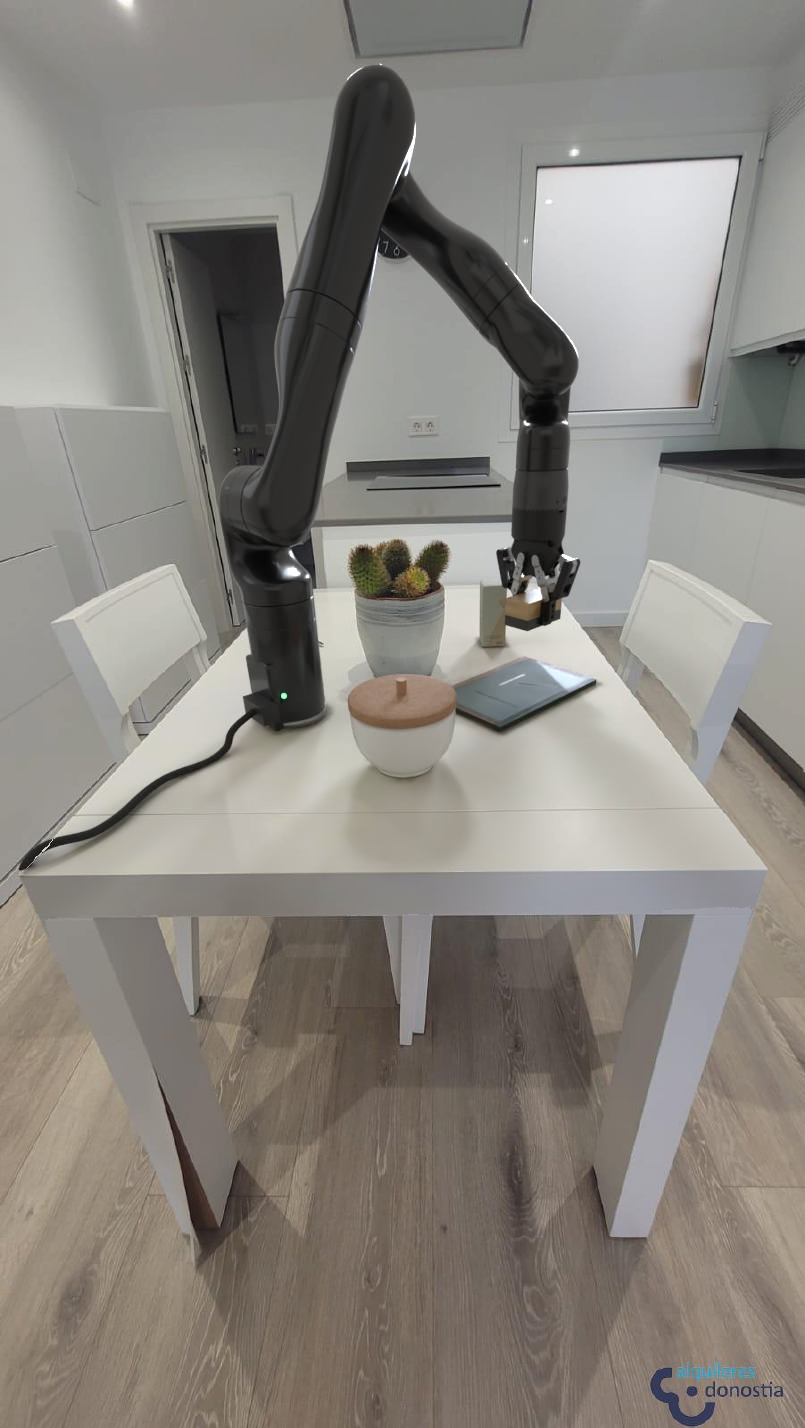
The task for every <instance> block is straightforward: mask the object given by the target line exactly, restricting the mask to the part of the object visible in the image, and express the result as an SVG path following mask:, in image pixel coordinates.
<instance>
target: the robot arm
mask: <svg viewBox="0 0 805 1428" xmlns="http://www.w3.org/2000/svg"><path fill="white" fill-rule="evenodd" d="M337 94H338V95H337V98H336V100H335V104H334V108H333V115H332V123H331V124H332V125H331V131H330V138H329V144H328V150H327V156H326V161H325V165H324V171H323V176H322V181H321V186H320V190H319V194H318V197H317V201H316V204H315V207H314V210H313V212H312V216H311V218H310V221H309V224H308V226H307V230H306V232H305V235H304V237H303V241H302V244H301V246H300V250H299V253H298V256H297V259H296V262H295V265H294V267H293V268H294V269H293V271H292V274H291V278H290V281H289V284H288V287H287V290H286V294H285V297H284V300H283V305H282V309H281V312H280V314H279V315H280V316H279V319H278V324H277V327H276V332H275V337H274V345H273V348H274V349H273V350H274V351H273V354H274V355H273V356H274V357H273V358H274V369H275V376H276V377H275V378H276V384H277V390H278V391H277V392H278V415H277V420H276V425H275V429H274V433H273V436H272V440H271V443H270V445H269V449H268V452H267V455H266V458H265V460H264V463H263V464H244V465H239V466H237V467H234V468H233V469H232V470H230V471H229V472H228V473H227V474H226V475H225V477H224V478H223V480H222V482H221V485H220V487H219V493H218V513H219V521H220V526H221V531H222V537H223V541H224V546H225V550H226V555H227V559H228V564H229V569H230V572H231V575H232V577H233V579H234V581H235V584H236V585H237V587H238V589H239V592H240V597H241V601H242V606H243V612H244V613H243V614H244V618H245V619H244V620H245V624H246V625H245V626H246V631H247V638H248V643H249V650H250V653H249V654H246V656H245V662H246V667H247V673H248V680H249V686H250V692H251V693H249V694H246V695H243V696H242V701H243V707H244V712H245V713H244V714H243V715H242V716H240V717H239V718H238V719H237V720H236V721H234V723H233V724H232V725H231V726H230V727H229V729H228V730H227V732H226V734H225V739H224V742H223V745H222V747H220V748H219V749H218V750H217V751H216V752H215V753H213V754H212V755H210V756H208V757H207V758H205V759H203V760H200V761H197V762H195V763H192V764H189V765H185V766H182V767H179V768H176V769H174V770H172V771H169V772H167V773H165V774H163V775H161V776H159V777H158V778H156V779H155V780H153V781H151V782H150V783H149V784H148V785H146V786H145V787H143V788H142V789H141V790H139V792H138V793H136V794H135V795H134V796H133V797H132V798H131V799H130V800H129V801H128V802H127V803H126V804H125V805H123V807H122V808H120V809H119V810H118V811H116V812H115V813H114V814H113V815H112V816H110V817H109V818H106V820H104V821H102V822H101V823H99V824H98V825H96V826H93V827H92V828H89V829H86V830H83V831H80V832H79V831H78V832H74V833H70V834H65V835H60V836H56V837H53V838H50V839H47V840H44V841H42V842H40V843H38V844H37V845H36V846H35V847H33V848H32V849H30V851H28V853H26V855H25V856H24V858H22V861H21V862H20V864H19V867H18V871H21V872H22V871H26V870H27V869H29V868H31V866H33V864H34V863H32V862H33V861H34V859H35V857H36V856H38V855H39V854H40V853H41V852H42V850H43V849H44V848H45V847H47V846H48V845H49V843H50V842H51V841H52V839H53V841H52V842H51V843H50V846H49V847H48V848H47V849H46V850H45V851H44V852H42V854H43V853H46V852H47V851H50V850H52V849H55V848H58V847H61V846H65V845H70V844H76V843H80V842H84V841H87V840H90V839H92V838H95V837H97V836H100V835H101V834H103V833H105V832H106V831H108V830H109V829H111V828H113V827H114V826H116V825H117V824H118V823H120V822H121V821H122V820H124V818H126V817H127V816H128V815H129V814H131V812H132V811H134V810H135V809H136V808H137V807H138V806H139V805H140V804H141V802H144V800H145V799H147V797H149V796H150V795H151V794H152V793H153V792H154V791H156V790H157V789H158V788H160V787H162V786H163V785H165V784H166V783H168V782H170V781H172V780H175V779H177V778H180V777H182V776H185V775H188V774H191V773H194V772H196V771H199V770H202V769H203V768H206V767H209V766H210V765H212V764H215V763H216V762H218V761H219V760H221V759H222V758H223V757H225V755H226V754H227V753H228V752H229V751H230V750H231V748H232V745H233V742H234V737H235V735H236V733H237V732H238V730H239V729H240V728H241V727H242V726H244V725H245V724H246V723H247V722H248V721H250V720H251V719H252V720H254V721H255V722H257V723H258V724H260V725H261V726H263V727H264V728H266V727H269V728H270V729H272V731H275V732H280V731H283V730H291V729H293V730H294V729H300V728H304V727H309V726H312V725H313V724H316V723H318V722H319V721H321V720H322V719H324V717H325V716H326V714H327V712H328V708H327V701H326V695H325V689H324V688H325V687H324V678H323V667H322V660H321V659H322V658H321V650H320V641H319V632H318V622H317V612H316V604H315V594H314V586H313V579H312V576H311V574H310V572H309V571H308V570H307V568H305V567H304V566H303V565H302V564H301V563H300V562H299V561H298V559H297V557H296V556H295V554H294V552H293V549H292V547H296V546H297V545H299V544H300V543H302V542H303V541H304V540H305V539H306V538H307V536H308V535H309V533H310V531H311V530H312V529H313V527H314V523H315V521H316V517H317V514H318V511H319V507H320V501H321V498H322V497H321V495H322V491H323V484H324V480H325V479H324V478H325V473H326V468H327V463H328V461H327V460H328V458H329V457H328V456H329V452H330V447H331V442H332V438H333V434H334V430H335V426H336V423H337V418H338V415H339V410H340V407H341V405H342V400H343V395H344V391H345V388H346V386H347V385H346V384H347V381H348V378H349V375H350V371H351V369H352V367H353V364H354V363H353V362H354V359H355V356H356V353H357V349H358V345H359V342H360V338H361V335H362V331H363V327H364V324H365V320H366V314H367V311H368V305H369V300H370V296H371V290H372V286H373V285H372V284H373V280H374V279H373V278H374V274H375V268H376V261H377V255H378V249H379V242H380V237H381V231H382V232H383V233H384V234H385V235H387V236H388V237H389V238H390V239H391V240H392V241H393V242H394V243H395V244H396V245H398V246H399V247H400V248H401V249H402V250H403V251H404V252H405V253H406V254H407V255H409V257H411V259H413V260H414V261H415V262H416V263H417V264H418V265H419V266H420V267H421V268H422V269H423V270H424V271H425V272H426V273H427V274H428V275H429V276H431V278H432V279H433V280H434V281H435V282H436V283H437V285H439V287H440V288H441V289H442V290H443V291H444V292H445V293H446V294H447V295H448V297H449V298H450V299H451V300H452V301H453V303H454V304H455V305H456V306H457V308H458V309H459V310H460V312H462V314H463V315H464V317H465V318H466V319H467V320H468V322H469V323H470V324H471V325H472V326H473V327H474V329H475V330H476V331H477V332H478V333H479V335H480V336H481V337H482V338H483V339H484V340H485V341H486V342H487V343H488V344H489V345H491V346H492V347H494V348H495V349H496V350H497V351H498V353H499V354H500V355H501V357H502V358H503V359H504V360H505V362H506V363H507V364H508V366H509V367H510V369H512V371H513V373H514V374H515V375H516V377H517V378H518V421H519V425H518V432H517V438H516V439H517V440H516V453H515V473H514V479H513V486H512V505H511V506H512V507H511V508H512V509H511V528H510V529H511V531H510V532H511V533H510V536H511V538H512V539H513V542H512V544H511V545H510V546H507V547H502V548H498V549H497V550H496V551H495V554H496V560H497V565H498V572H499V576H500V579H501V582H502V587H503V588H507V590H509V591H510V593H511V596H515V595H518V594H521V593H524V592H527V591H528V587H529V584H530V581H531V579H533V578H535V579H536V585H537V587H538V588H540V590H541V595H542V600H543V601H542V602H541V610H540V625H542V626H541V627H547V626H549V625H551V624H552V623H553V622H552V621H554V618H555V609H556V601H557V600H559V599H561V598H562V599H564V598H568V597H569V596H570V594H571V590H572V588H573V585H574V582H575V579H576V577H577V575H578V572H579V568H580V566H581V560H580V559H579V558H578V557H575V558H572V557H570V556H568V555H566V554H565V550H564V547H563V540H564V538H565V535H566V525H567V512H568V500H569V499H568V498H569V488H570V487H569V486H570V485H569V483H570V482H569V462H570V446H571V429H570V424H569V411H570V399H571V390H572V386H573V384H574V383H575V381H576V378H577V375H578V373H579V367H580V365H579V363H580V360H579V354H578V351H577V348H576V347H575V346H576V345H574V343H573V341H572V340H571V339H570V337H569V336H568V335H567V333H566V332H565V331H564V329H562V327H561V326H560V325H558V323H557V322H556V321H555V320H554V319H553V318H552V317H551V316H550V315H549V314H548V313H547V312H546V311H545V310H544V309H543V308H542V307H541V306H540V305H539V304H538V303H537V302H536V301H535V300H534V299H533V296H531V294H530V293H529V291H528V289H527V288H526V286H525V285H524V283H522V281H521V279H519V277H518V276H517V275H516V273H515V272H514V271H513V269H512V268H511V267H510V266H509V264H508V263H507V262H506V261H505V259H504V258H503V257H502V255H501V254H499V252H498V251H497V250H496V249H495V248H494V247H493V246H492V245H491V244H490V243H488V241H486V240H485V239H484V238H482V237H481V236H479V235H478V234H476V233H474V232H473V231H471V230H470V229H468V228H465V226H464V227H463V226H462V225H460V224H458V223H456V222H455V221H453V220H452V219H450V218H449V217H447V216H446V215H445V214H444V213H442V212H441V211H440V210H439V209H438V208H437V207H436V206H435V204H433V203H432V202H431V201H430V200H429V198H428V197H427V196H426V195H425V193H424V191H423V190H422V188H421V187H420V186H419V184H418V182H417V180H416V179H415V177H414V176H413V174H412V172H411V170H410V164H411V160H412V156H413V152H414V147H415V142H416V136H417V135H416V134H417V118H416V110H415V105H414V101H413V98H412V95H411V93H410V90H409V87H408V86H407V85H406V83H405V81H404V79H403V78H402V77H401V76H400V75H399V73H398V72H397V71H396V70H394V69H393V68H391V67H390V66H387V65H384V64H381V63H372V64H368V65H365V66H362V67H361V68H358V69H357V70H355V72H353V73H352V74H351V75H350V76H349V77H348V78H347V80H346V81H345V82H344V83H343V85H342V87H341V89H340V90H339V92H338V93H337ZM558 565H559V567H558V569H557V566H558ZM558 572H559V574H558ZM546 577H547V578H546ZM554 622H555V621H554ZM54 838H55V839H54ZM39 857H40V856H38V857H37V858H36V859H35V861H36V860H37V859H39ZM35 861H34V862H35ZM31 863H32V864H31ZM30 864H31V865H30ZM29 865H30V866H29ZM28 866H29V867H28ZM27 867H28V868H27ZM26 868H27V869H26ZM25 869H26V870H25Z"/></svg>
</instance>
